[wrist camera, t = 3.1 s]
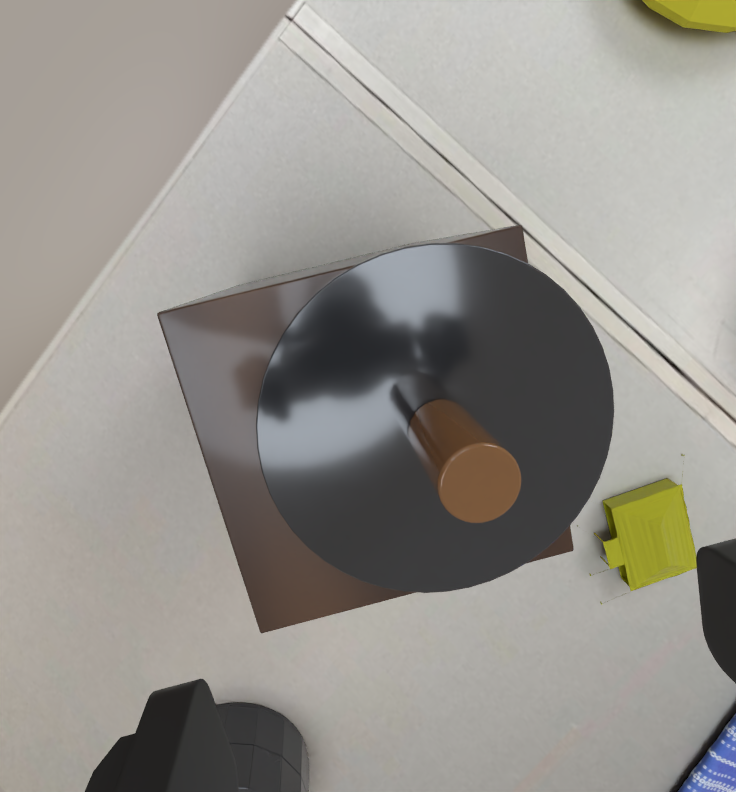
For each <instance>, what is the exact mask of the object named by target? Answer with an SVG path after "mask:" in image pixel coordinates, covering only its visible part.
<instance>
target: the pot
mask: <svg viewBox="0 0 736 792" xmlns="http://www.w3.org/2000/svg"><path fill="white" fill-rule="evenodd" d="M216 707H217V710H218V713H219V716H220V719H221V721H222V724H223V727H224V730H225V732H226V735H227V738H228V741H229V744H230V746H231V749H232V752H233V755H234V758H235V762H236V768H237V774H238V788H239V792H309V758H308V755H307V749H306V745H305V742H304V740H303V737H302V736H301V734H300V732H299V731H298V729H297V728H296V727H295V726H294V725H293V724H292V723H291V722H290V721H289V720H288V719H287V718H285V717H284V716H283V715H281V714H280V713H278V712H276V711H274V710H272V709H269V708H266V707H264V706H260V705H256V704H250V703H227V704H221V705H216Z"/></svg>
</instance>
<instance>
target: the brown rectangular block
mask: <svg viewBox="0 0 736 792" xmlns="http://www.w3.org/2000/svg"><path fill="white" fill-rule="evenodd" d="M428 243H460V244H467V245H475V246H481V247H485V248H489V249H492V250H496V251H500V252H503V253H506V254H508V255H510V256H513V257H515V258H517V259H520V260H522V261H524V262H526V263H528V260H527V254H526V247H525V241H524V235H523V229H522V226H521V225H516V226H510V227H504V228H498V229H492V230H487V231H481V232H475V233H469V234H463V235H457V236H451V237H445V238H439V239H433V240H428V241H422V242H416V243H411V244H407V245H403V246H399V247H395V248H390V249H386V250H382V251H378V252H374V253H370V254H366V255H361V256H357V257H353V258H349V259H345V260H341V261H337V262H333V263H328V264H324V265H320V266H316V267H312V268H308V269H304V270H299V271H295V272H291V273H287V274H283V275H279V276H275V277H271V278H266V279H262V280H258V281H254V282H250V283H246V284H242V285H238V286H235V287H232V288H229V289H226V290H223V291H220V292H217V293H214V294H211V295H208V296H205V297H202V298H199V299H196V300H194V301H191V302H188V303H185V304H182V305H179V306H176V307H173V308H170V309H167V310H164V311H161V312H159V313H158V314H157V316H158V319H159V322H160V325H161V328H162V331H163V334H164V337H165V340H166V343H167V346H168V350H169V353H170V356H171V359H172V362H173V365H174V368H175V371H176V374H177V377H178V380H179V383H180V386H181V390H182V393H183V396H184V399H185V402H186V405H187V408H188V411H189V414H190V417H191V420H192V423H193V427H194V430H195V433H196V436H197V439H198V442H199V445H200V448H201V451H202V454H203V457H204V460H205V463H206V467H207V470H208V473H209V476H210V479H211V482H212V485H213V488H214V491H215V494H216V497H217V500H218V504H219V507H220V510H221V513H222V516H223V519H224V522H225V525H226V528H227V531H228V534H229V537H230V540H231V544H232V547H233V550H234V553H235V556H236V559H237V562H238V565H239V568H240V571H241V574H242V577H243V581H244V584H245V587H246V590H247V593H248V596H249V599H250V602H251V605H252V608H253V611H254V614H255V617H256V621H257V624H258V627H259V630H260V632H261V633H264V632H268V631H272V630H276V629H280V628H283V627H287V626H291V625H295V624H298V623H302V622H306V621H310V620H313V619H317V618H321V617H325V616H329V615H332V614H336V613H340V612H344V611H347V610H351V609H355V608H359V607H363V606H366V605H370V604H374V603H378V602H381V601H385V600H389V599H393V598H397V597H400V596H404V595H408V594H412V593H415V592H404V591H399V590H393V589H388V588H382V587H379V586H376V585H373V584H370V583H366V582H363V581H361V580H358V579H356V578H354V577H352V576H350V575H347V574H345V573H343V572H341V571H340V570H338V569H337V568H335V567H333V566H332V565H330V564H328V563H327V562H325V561H324V560H323V559H321V558H320V557H319V556H318V555H316V554H315V553H314V552H313V551H312V550H310V549H309V548H308V547H307V546H306V545H305V544H304V543H303V542H302V541H301V540H300V539H299V538H298V536H297V535H296V534H295V533H294V532H293V531H292V530H291V528H290V527H289V525H288V524H287V523H286V521H285V520H284V518H283V517H282V516H281V514H280V513H279V511H278V509H277V507H276V505H275V503H274V501H273V499H272V497H271V495H270V493H269V491H268V488H267V485H266V482H265V479H264V476H263V473H262V470H261V465H260V460H259V455H258V450H257V436H256V418H257V405H258V398H259V394H260V389H261V385H262V380H263V377H264V374H265V371H266V369H267V366H268V363H269V360H270V358H271V355H272V353H273V351H274V349H275V347H276V345H277V343H278V341H279V340H280V338H281V336H282V334H283V332H284V331H285V329H286V328H287V326H288V325H289V324H290V322H291V321H292V319H293V318H294V317H295V315H296V314H297V312H298V311H299V310H300V309H301V308H302V307H303V306H304V305H305V304H306V303H307V302H308V301H309V299H310V298H311V297H312V296H313V295H314V294H315V293H316V292H318V291H319V290H320V289H321V288H322V287H324V286H325V285H326V284H327V283H329V282H330V281H331V280H332V279H334V278H335V277H336V276H338V275H340V274H341V273H343V272H345V271H346V270H348V269H349V268H351V267H353V266H354V265H356V264H358V263H360V262H363V261H365V260H367V259H369V258H372V257H374V256H376V255H379V254H382V253H385V252H389V251H392V250H395V249H399V248H402V247H408V246H415V245H422V244H428ZM570 551H573V542H572V536H571V530H570V525H569V527H568V528H567V529H566V530H565V531H564V533H563V534H561V535H560V536H559V537H558V538H557V539H556V540H555V541H554V542H553V543H552V544H551V545H550V546H549V547H548V548H546V549H545V550H544V551H542V552H541V553H540V554H538V555H537V556H536V557H534V558H533V559H532V560H530V561H529V562H533V561H536V560H540V559H544V558H548V557H551V556H555V555H559V554H563V553H567V552H570ZM529 562H527V563H529Z"/></svg>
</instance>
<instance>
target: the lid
mask: <svg viewBox="0 0 736 792" xmlns="http://www.w3.org/2000/svg"><path fill="white" fill-rule="evenodd" d="M613 418H614V400H613V387H612V381H611V376H610V370H609V366H608V363H607V360H606V357H605V354H604V350H603V347H602V345H601V343H600V341H599V339H598V337H597V335H596V332H595V330H594V328H593V326H592V325H591V323H590V322H589V320H588V319H587V317H586V316H585V314H584V313H583V311H582V310H581V308H580V307H579V306H578V305H577V303H576V302H575V301H574V300H573V299H572V298H571V297H570V296H569V295H568V293H567V292H566V291H565V290H564V289H563V288H561V287H560V286H559V285H558V284H557V283H555V282H554V281H553V280H552V279H551V278H549V277H548V276H547V275H546V274H544V273H543V272H541V271H539V270H538V269H536V268H534V267H533V266H531V265H530V264H528V263H526V262H524V261H522V260H520V259H517V258H515V257H513V256H510V255H508V254H506V253H503V252H500V251H496V250H492V249H489V248H485V247H481V246H475V245H467V244H460V243H428V244H422V245H415V246H408V247H402V248H399V249H395V250H392V251H389V252H385V253H382V254H379V255H376V256H374V257H372V258H369V259H367V260H365V261H363V262H360V263H358V264H356V265H354V266H353V267H351V268H349V269H348V270H346V271H345V272H343V273H341V274H340V275H338V276H336V277H335V278H334V279H332V280H331V281H330V282H329V283H327V284H326V285H325V286H324V287H322V288H321V289H320V290H319V291H318V292H316V293H315V294H314V295H313V296H312V297H311V298H310V299H309V301H308V302H307V303H306V304H305V305H304V306H303V307H302V308H301V309H300V310H299V311H298V312H297V314H296V315H295V317H294V318H293V319H292V321H291V322H290V324H289V325H288V326H287V328H286V329H285V331H284V332H283V334H282V336H281V338H280V340H279V341H278V343H277V345H276V347H275V349H274V351H273V353H272V355H271V358H270V360H269V363H268V366H267V369H266V371H265V374H264V377H263V380H262V385H261V389H260V394H259V398H258V405H257V418H256V436H257V450H258V455H259V460H260V465H261V470H262V473H263V476H264V479H265V482H266V485H267V488H268V491H269V493H270V495H271V497H272V499H273V501H274V503H275V505H276V507H277V509H278V511H279V513H280V514H281V516H282V517H283V518H284V520H285V521H286V523H287V524H288V525H289V527H290V528H291V530H292V531H293V532H294V533H295V534H296V535H297V536H298V538H299V539H300V540H301V541H302V542H303V543H304V544H305V545H306V546H307V547H308V548H309V549H310V550H312V551H313V552H314V553H315V554H316V555H318V556H319V557H320V558H321V559H323V560H324V561H325V562H327V563H328V564H330V565H332V566H333V567H335V568H337V569H338V570H340V571H341V572H343V573H345V574H347V575H350V576H352V577H354V578H356V579H358V580H361V581H363V582H366V583H370V584H373V585H376V586H379V587H382V588H388V589H393V590H399V591H404V592H422V593H429V592H445V591H452V590H458V589H463V588H469V587H472V586H475V585H479V584H482V583H485V582H489V581H491V580H494V579H496V578H498V577H500V576H503V575H505V574H507V573H510V572H512V571H513V570H515V569H517V568H518V567H520V566H522V565H524V564H525V563H527V562H529V561H530V560H532V559H533V558H534V557H536V556H537V555H538V554H540V553H541V552H542V551H544V550H545V549H546V548H548V547H549V546H550V545H551V544H552V543H553V542H554V541H555V540H556V539H557V538H558V537H559V536H560V535H561V534H563V533H564V531H565V530H566V529H567V528H568V527H569V525H570V524H571V523H572V522H573V521H574V519H575V518H576V517H577V516H578V514H579V513H580V511H581V510H582V508H583V507H584V505H585V504H586V502H587V501H588V499H589V498H590V496H591V494H592V492H593V490H594V488H595V486H596V484H597V482H598V480H599V478H600V475H601V472H602V470H603V467H604V464H605V461H606V458H607V455H608V451H609V446H610V441H611V437H612V429H613Z"/></svg>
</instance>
